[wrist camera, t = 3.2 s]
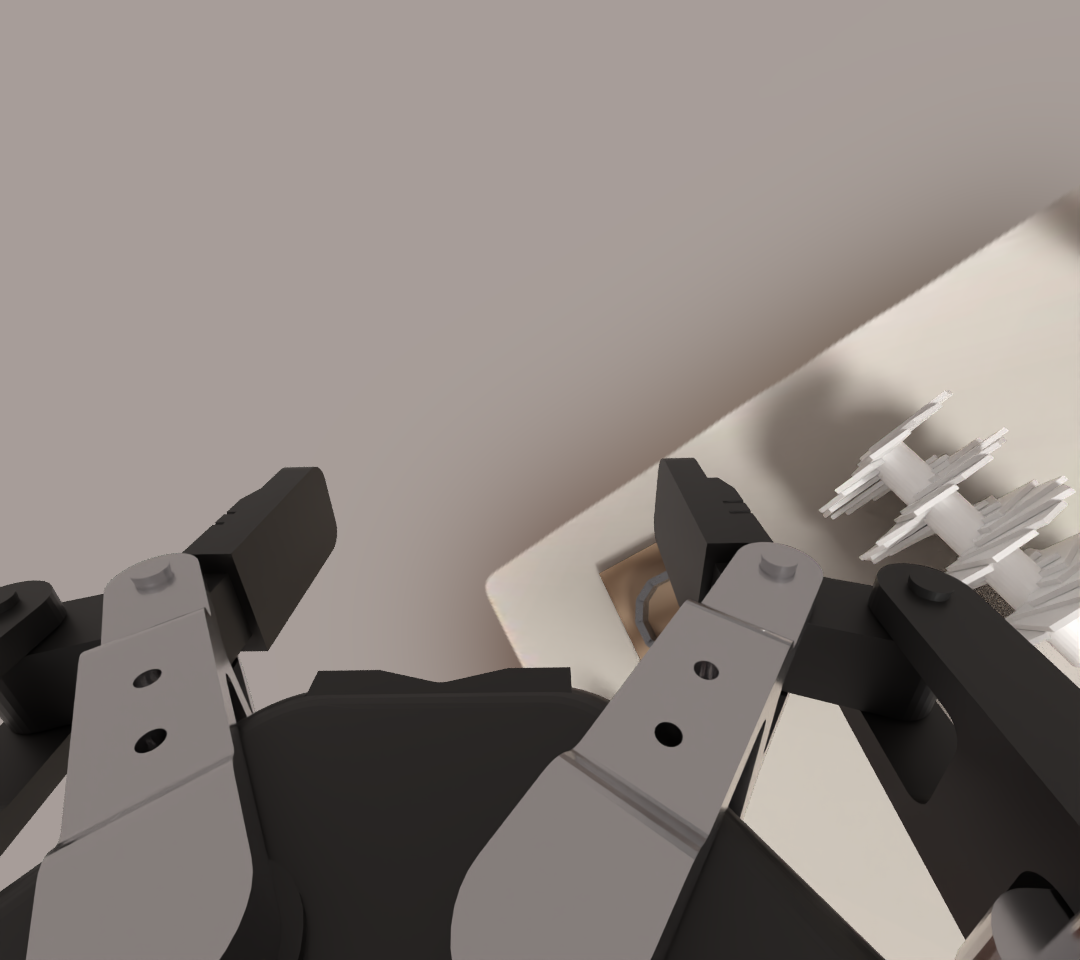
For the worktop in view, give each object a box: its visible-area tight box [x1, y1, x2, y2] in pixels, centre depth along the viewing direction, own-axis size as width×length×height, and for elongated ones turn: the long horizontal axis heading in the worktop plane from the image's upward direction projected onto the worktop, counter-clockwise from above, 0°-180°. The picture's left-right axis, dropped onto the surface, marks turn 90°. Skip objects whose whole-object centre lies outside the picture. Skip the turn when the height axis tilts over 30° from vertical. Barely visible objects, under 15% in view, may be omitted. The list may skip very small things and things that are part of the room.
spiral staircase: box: [819, 391, 1080, 667], centre depth 49 cm, size 18×18×25 cm
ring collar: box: [635, 571, 670, 648], centre depth 65 cm, size 11×11×3 cm
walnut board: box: [599, 542, 679, 660], centre depth 67 cm, size 20×16×2 cm
